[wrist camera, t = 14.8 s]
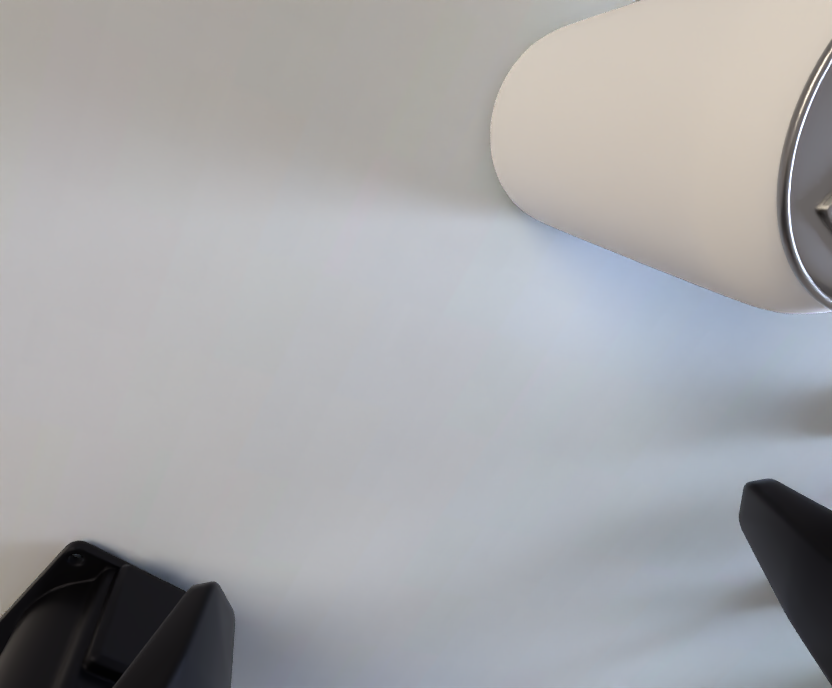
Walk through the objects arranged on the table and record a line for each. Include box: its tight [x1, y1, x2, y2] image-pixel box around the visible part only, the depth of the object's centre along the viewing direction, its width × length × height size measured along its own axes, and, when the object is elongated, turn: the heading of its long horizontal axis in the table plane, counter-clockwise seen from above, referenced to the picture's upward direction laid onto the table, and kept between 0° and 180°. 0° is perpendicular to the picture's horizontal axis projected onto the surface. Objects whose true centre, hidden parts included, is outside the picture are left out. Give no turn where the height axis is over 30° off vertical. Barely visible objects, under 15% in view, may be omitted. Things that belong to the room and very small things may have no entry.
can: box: [490, 0, 832, 314], centre depth 14 cm, size 6×6×12 cm
